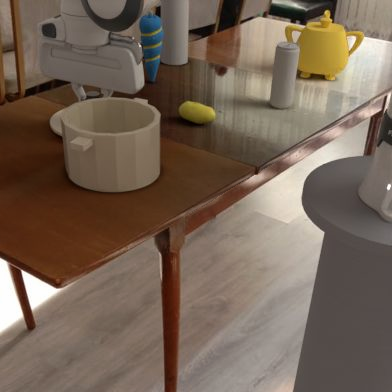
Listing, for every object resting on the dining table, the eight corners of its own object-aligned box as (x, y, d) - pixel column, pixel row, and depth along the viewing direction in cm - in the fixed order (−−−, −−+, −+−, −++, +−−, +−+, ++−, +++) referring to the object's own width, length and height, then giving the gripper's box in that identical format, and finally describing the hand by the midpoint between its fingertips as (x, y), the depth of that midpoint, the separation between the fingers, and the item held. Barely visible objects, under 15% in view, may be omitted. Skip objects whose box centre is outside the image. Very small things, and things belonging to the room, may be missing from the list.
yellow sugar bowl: (361, 76, 148) (372, 21, 140) (318, 87, 142) (327, 30, 134) (319, 59, 156) (328, 7, 149) (277, 69, 150) (283, 14, 142)
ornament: (155, 87, 137) (154, 12, 128) (135, 83, 139) (133, 8, 129) (167, 81, 141) (168, 7, 131) (148, 76, 143) (147, 3, 133)
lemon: (185, 114, 127) (186, 94, 124) (219, 123, 124) (220, 104, 121) (173, 120, 124) (174, 100, 122) (207, 130, 121) (208, 110, 118)
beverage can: (265, 106, 132) (272, 45, 124) (273, 99, 135) (280, 39, 127) (287, 111, 130) (295, 49, 122) (295, 103, 133) (303, 43, 125)
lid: (154, 119, 123) (153, 87, 119) (111, 152, 112) (110, 117, 108) (80, 104, 128) (77, 72, 124) (32, 133, 116) (27, 99, 112)
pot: (181, 156, 112) (183, 102, 106) (125, 208, 97) (122, 150, 91) (104, 138, 117) (101, 86, 110) (39, 185, 102) (31, 129, 96)
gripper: (149, 33, 108) (150, 113, 117) (49, 15, 113) (57, 93, 123) (132, 42, 103) (134, 125, 113) (28, 24, 109) (38, 104, 118)
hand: (93, 108), depth 118 cm, fingers closed on lid, 2 cm apart
